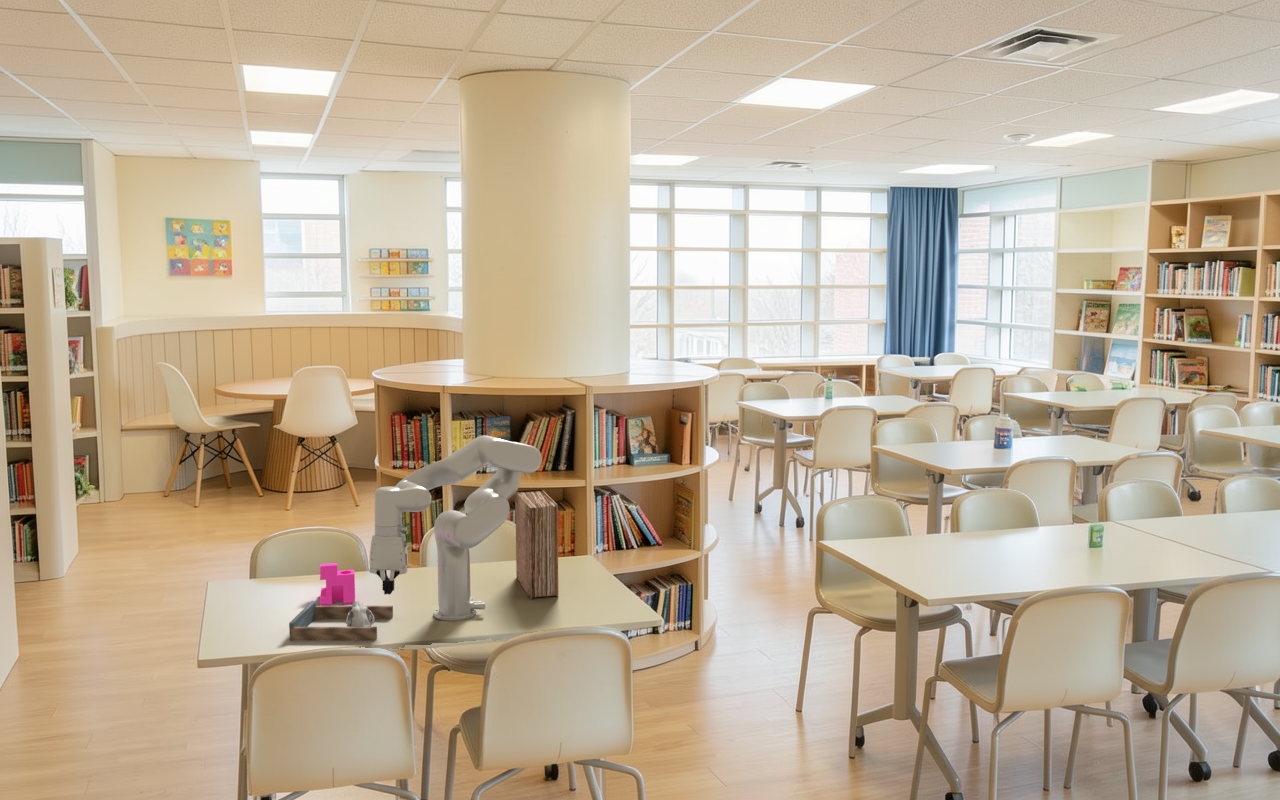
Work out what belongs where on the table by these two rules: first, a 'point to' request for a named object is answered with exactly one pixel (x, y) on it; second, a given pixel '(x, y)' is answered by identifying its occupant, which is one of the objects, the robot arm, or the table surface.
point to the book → (536, 543)
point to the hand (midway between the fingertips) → (388, 592)
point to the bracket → (337, 585)
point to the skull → (359, 616)
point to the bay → (311, 611)
